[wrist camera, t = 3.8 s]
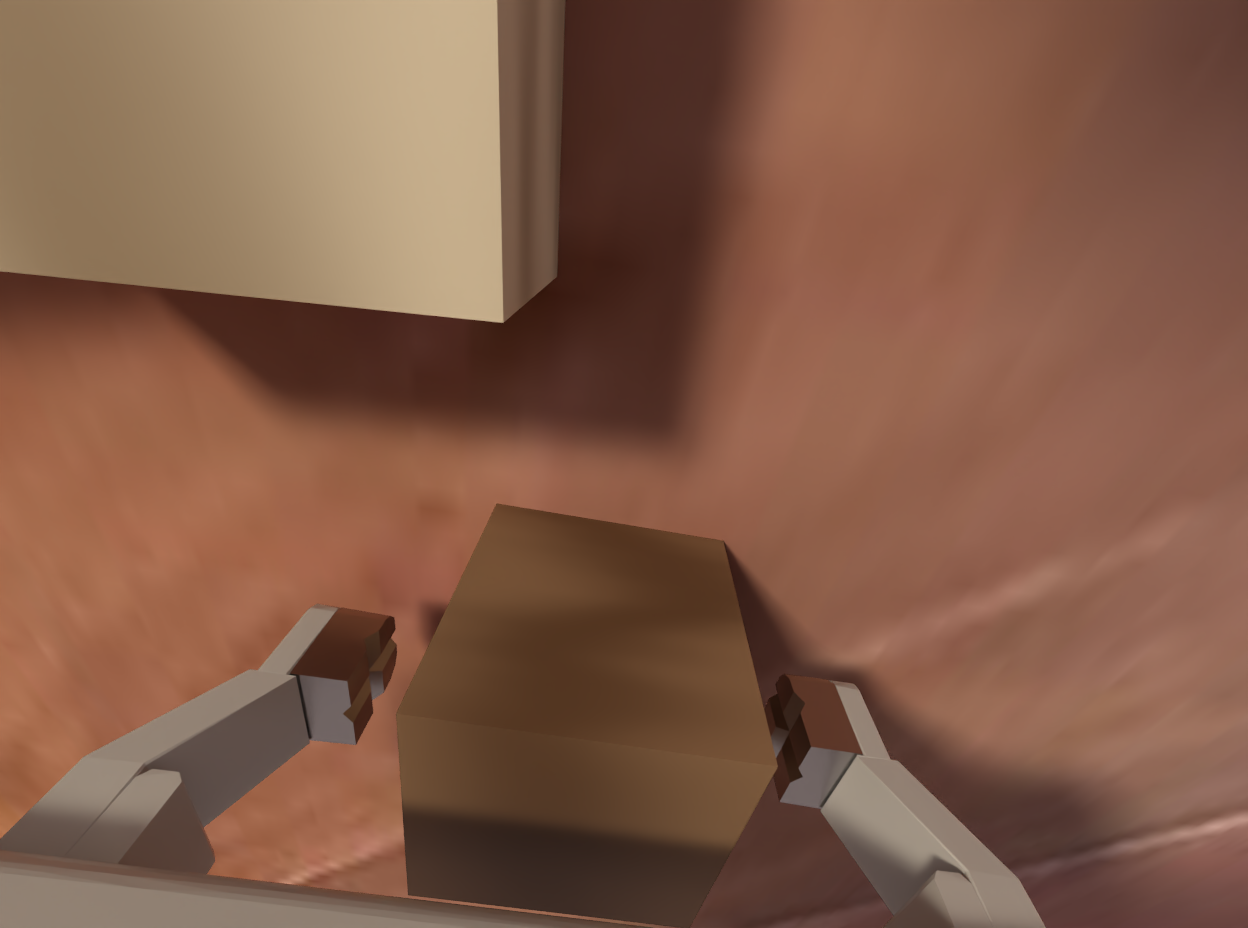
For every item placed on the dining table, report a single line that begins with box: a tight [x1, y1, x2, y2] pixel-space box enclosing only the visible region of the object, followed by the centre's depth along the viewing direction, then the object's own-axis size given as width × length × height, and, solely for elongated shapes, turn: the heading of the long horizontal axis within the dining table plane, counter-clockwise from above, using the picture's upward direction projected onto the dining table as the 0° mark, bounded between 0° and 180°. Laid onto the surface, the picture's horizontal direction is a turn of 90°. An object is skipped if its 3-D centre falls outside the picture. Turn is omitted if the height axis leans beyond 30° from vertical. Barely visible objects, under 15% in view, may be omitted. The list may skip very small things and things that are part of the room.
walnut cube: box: [396, 504, 778, 928], centre depth 10 cm, size 5×5×5 cm
